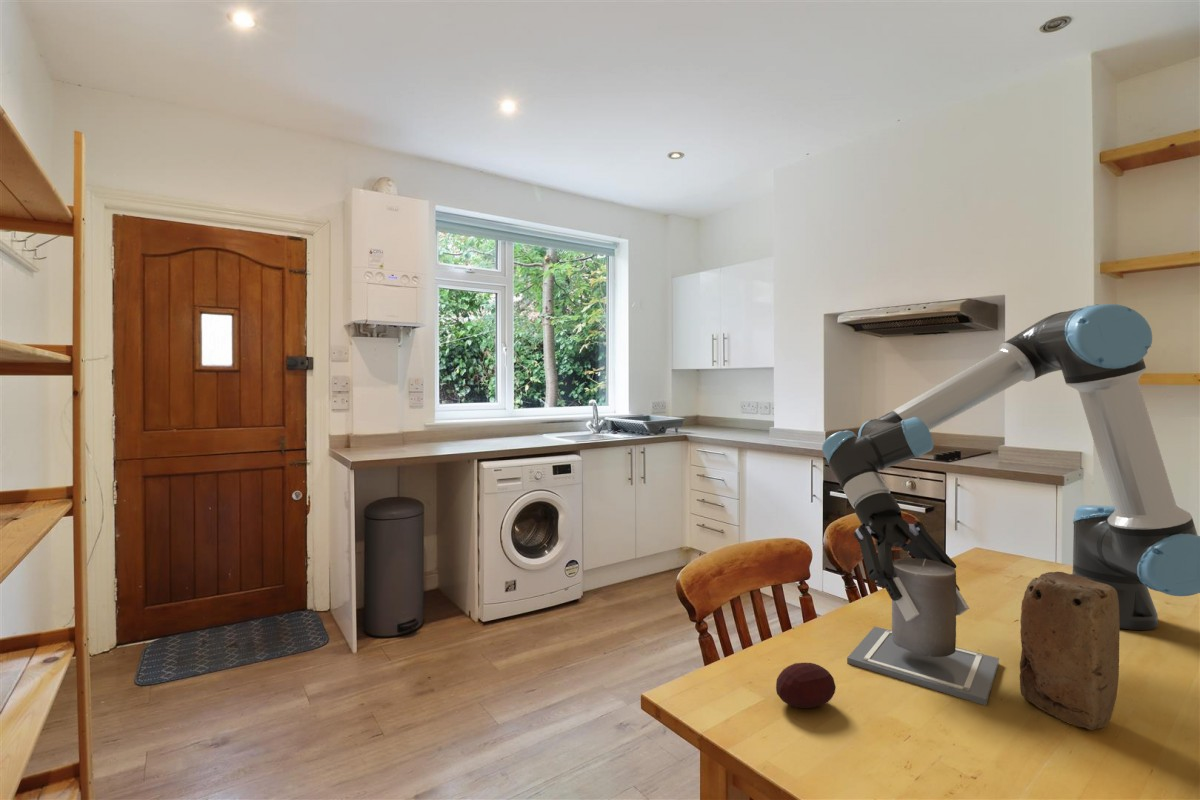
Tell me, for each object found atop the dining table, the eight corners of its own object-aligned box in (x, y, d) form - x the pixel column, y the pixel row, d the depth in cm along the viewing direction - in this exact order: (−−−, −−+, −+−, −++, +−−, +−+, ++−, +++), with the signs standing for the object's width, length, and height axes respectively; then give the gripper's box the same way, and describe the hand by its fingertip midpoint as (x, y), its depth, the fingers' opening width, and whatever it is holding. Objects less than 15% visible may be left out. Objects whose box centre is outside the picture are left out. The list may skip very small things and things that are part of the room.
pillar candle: (947, 637, 102) (948, 553, 102) (962, 661, 93) (963, 569, 93) (887, 629, 105) (887, 548, 105) (895, 653, 96) (896, 563, 96)
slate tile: (998, 663, 99) (998, 657, 99) (985, 705, 86) (986, 698, 86) (874, 631, 112) (874, 625, 112) (847, 663, 99) (847, 656, 99)
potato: (845, 715, 83) (846, 674, 83) (788, 721, 82) (788, 680, 82) (817, 688, 91) (817, 651, 91) (764, 693, 89) (764, 655, 89)
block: (1123, 726, 81) (1127, 586, 81) (1094, 739, 78) (1098, 593, 78) (1037, 688, 91) (1041, 563, 91) (1009, 699, 88) (1012, 570, 87)
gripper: (909, 509, 116) (976, 617, 101) (813, 515, 111) (870, 630, 96) (931, 488, 111) (1005, 599, 96) (831, 492, 105) (895, 611, 90)
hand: (938, 614), depth 96 cm, fingers closed on pillar candle, 9 cm apart
